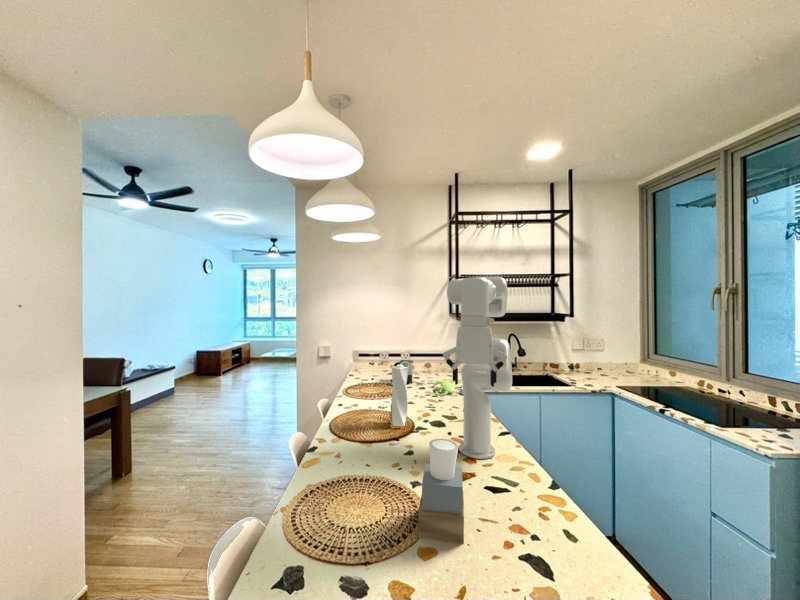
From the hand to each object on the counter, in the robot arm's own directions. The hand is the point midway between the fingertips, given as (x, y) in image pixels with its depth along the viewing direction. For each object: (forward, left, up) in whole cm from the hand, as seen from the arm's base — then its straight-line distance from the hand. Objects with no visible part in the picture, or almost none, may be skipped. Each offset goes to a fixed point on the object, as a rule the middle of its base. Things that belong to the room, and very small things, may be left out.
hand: (474, 384), depth 89 cm
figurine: (-111, -12, -31) cm, 116 cm away
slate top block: (+14, -8, -24) cm, 29 cm away
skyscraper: (-46, -30, -31) cm, 63 cm away
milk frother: (-120, -43, -31) cm, 131 cm away
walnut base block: (+14, -8, -31) cm, 34 cm away
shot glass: (+14, -8, -19) cm, 24 cm away
